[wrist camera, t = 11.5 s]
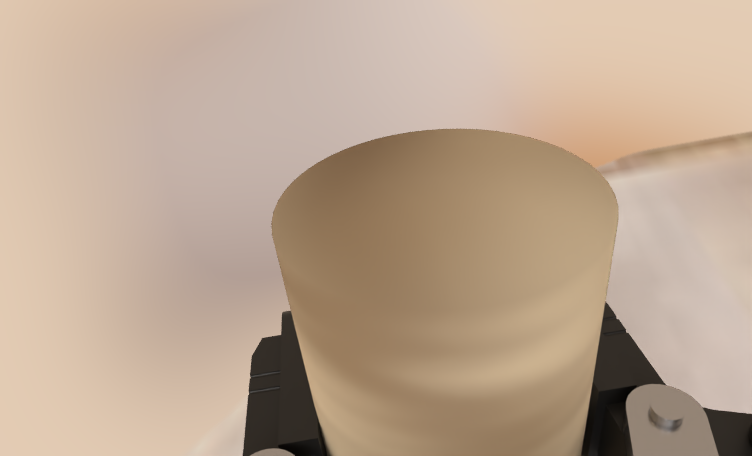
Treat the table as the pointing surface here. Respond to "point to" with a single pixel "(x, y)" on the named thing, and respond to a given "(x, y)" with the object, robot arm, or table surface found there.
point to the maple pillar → (448, 292)
